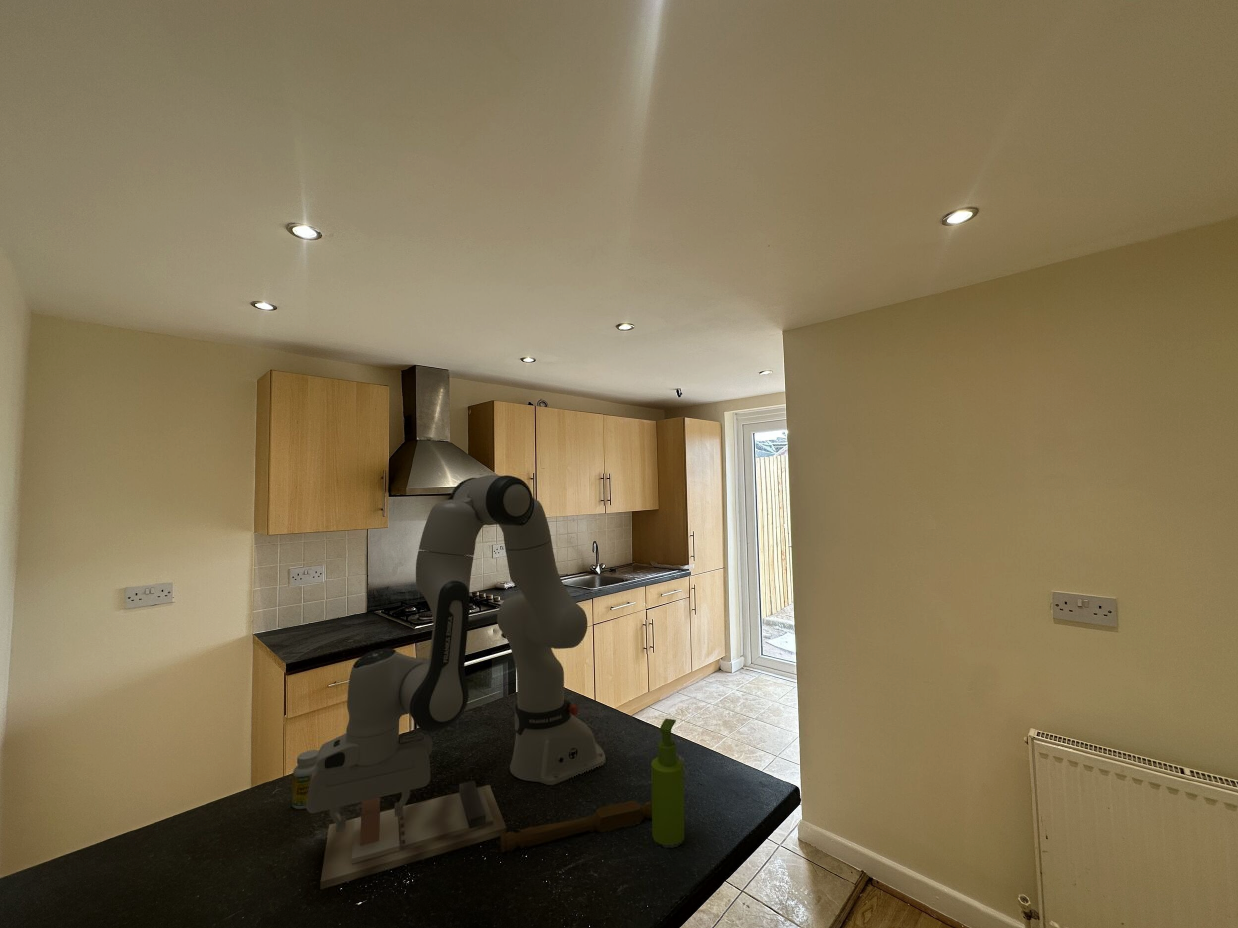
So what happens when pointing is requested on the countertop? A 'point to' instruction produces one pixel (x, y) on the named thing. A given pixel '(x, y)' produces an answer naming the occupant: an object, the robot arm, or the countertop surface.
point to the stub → (374, 832)
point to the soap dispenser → (667, 790)
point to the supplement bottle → (303, 778)
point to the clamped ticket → (419, 833)
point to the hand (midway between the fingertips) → (370, 821)
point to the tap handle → (578, 825)
